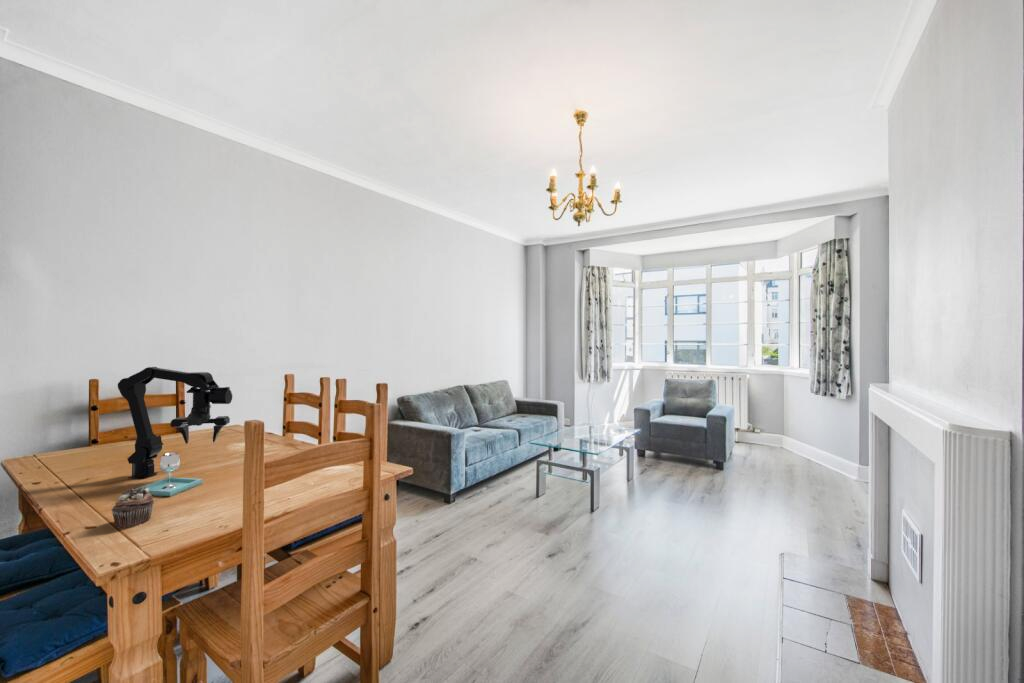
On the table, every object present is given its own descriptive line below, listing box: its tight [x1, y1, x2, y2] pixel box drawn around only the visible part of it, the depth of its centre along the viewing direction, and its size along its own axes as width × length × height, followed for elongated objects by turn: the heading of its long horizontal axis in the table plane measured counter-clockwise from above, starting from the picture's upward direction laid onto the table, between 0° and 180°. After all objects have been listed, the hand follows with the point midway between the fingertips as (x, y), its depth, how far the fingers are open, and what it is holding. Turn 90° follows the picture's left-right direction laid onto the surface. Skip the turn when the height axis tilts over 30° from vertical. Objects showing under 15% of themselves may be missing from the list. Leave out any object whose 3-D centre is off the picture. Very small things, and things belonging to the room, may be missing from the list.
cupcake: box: [111, 487, 155, 528], centre depth 131 cm, size 10×10×10 cm
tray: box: [135, 476, 203, 498], centre depth 159 cm, size 14×14×2 cm
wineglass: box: [159, 452, 181, 489], centre depth 159 cm, size 6×6×12 cm
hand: (200, 442), depth 175 cm, fingers open, 9 cm apart
